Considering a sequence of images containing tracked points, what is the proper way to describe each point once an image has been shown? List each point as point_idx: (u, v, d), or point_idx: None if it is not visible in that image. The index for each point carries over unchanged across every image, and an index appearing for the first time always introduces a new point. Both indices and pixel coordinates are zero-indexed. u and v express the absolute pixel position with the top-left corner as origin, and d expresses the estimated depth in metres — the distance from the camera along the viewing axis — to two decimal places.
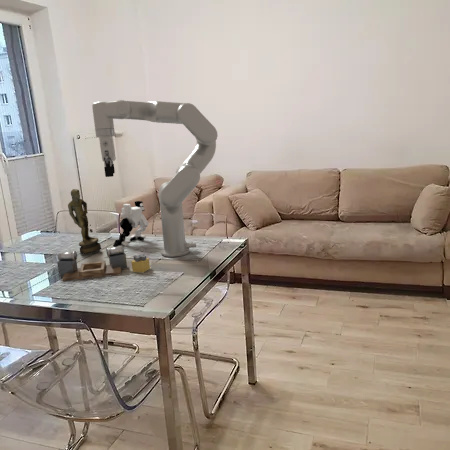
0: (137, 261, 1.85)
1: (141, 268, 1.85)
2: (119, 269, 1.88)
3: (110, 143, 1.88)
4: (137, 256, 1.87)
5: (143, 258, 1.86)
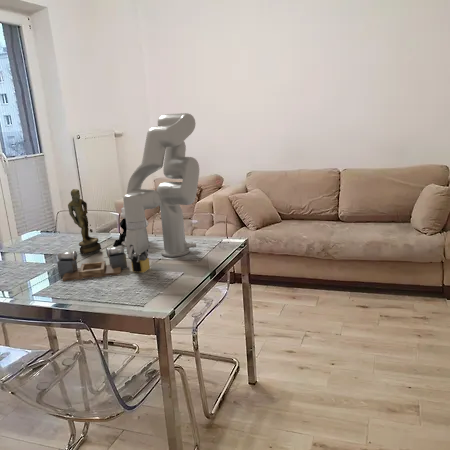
0: None
1: (141, 268, 1.85)
2: (119, 269, 1.88)
3: None
4: None
5: (143, 258, 1.86)
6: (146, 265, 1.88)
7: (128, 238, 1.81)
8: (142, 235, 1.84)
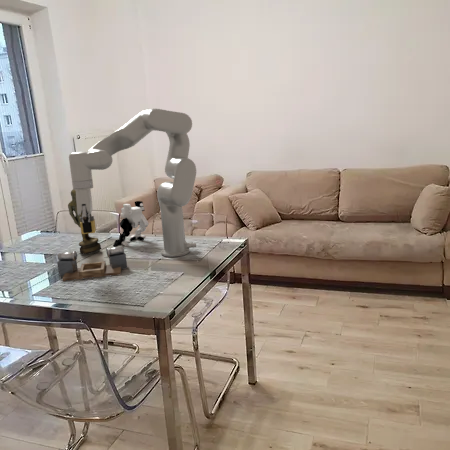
0: None
1: (92, 228, 1.82)
2: (119, 269, 1.88)
3: None
4: None
5: (92, 218, 1.83)
6: (94, 226, 1.84)
7: (79, 197, 1.76)
8: (90, 194, 1.81)
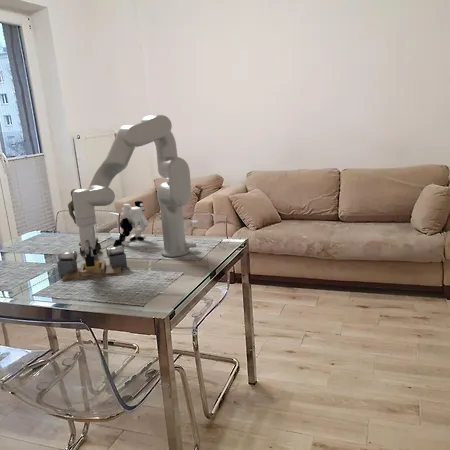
0: None
1: (96, 267, 1.86)
2: (119, 269, 1.88)
3: None
4: None
5: (96, 257, 1.87)
6: (98, 264, 1.89)
7: (83, 234, 1.80)
8: (93, 230, 1.85)
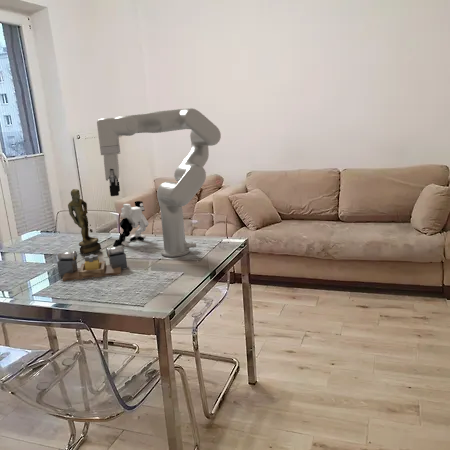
0: (91, 261, 1.85)
1: (96, 267, 1.86)
2: (119, 269, 1.88)
3: None
4: (89, 257, 1.86)
5: (96, 257, 1.87)
6: (98, 264, 1.89)
7: (108, 162, 1.80)
8: None
